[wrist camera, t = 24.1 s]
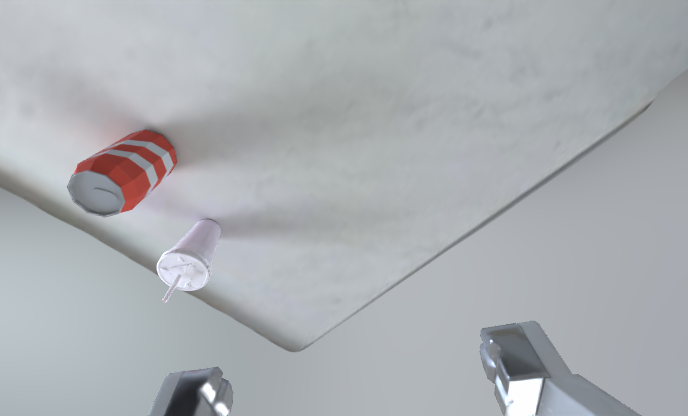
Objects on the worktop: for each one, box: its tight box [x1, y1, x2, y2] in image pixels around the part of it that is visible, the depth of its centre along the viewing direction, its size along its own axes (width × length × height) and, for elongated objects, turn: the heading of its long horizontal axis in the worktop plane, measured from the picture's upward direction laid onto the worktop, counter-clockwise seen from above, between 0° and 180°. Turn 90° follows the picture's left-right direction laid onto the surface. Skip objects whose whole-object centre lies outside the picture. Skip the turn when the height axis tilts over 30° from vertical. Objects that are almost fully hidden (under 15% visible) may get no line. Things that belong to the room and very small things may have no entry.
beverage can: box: [67, 130, 177, 217], centre depth 37 cm, size 6×6×12 cm
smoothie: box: [157, 219, 221, 303], centre depth 43 cm, size 6×6×14 cm
